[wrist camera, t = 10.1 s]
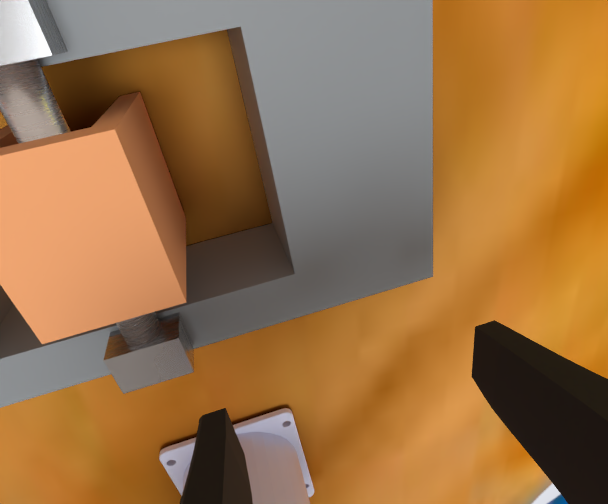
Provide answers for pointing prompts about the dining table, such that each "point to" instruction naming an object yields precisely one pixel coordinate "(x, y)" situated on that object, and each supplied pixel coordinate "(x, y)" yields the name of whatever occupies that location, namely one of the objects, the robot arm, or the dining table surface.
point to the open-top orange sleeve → (90, 225)
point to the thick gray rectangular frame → (272, 162)
